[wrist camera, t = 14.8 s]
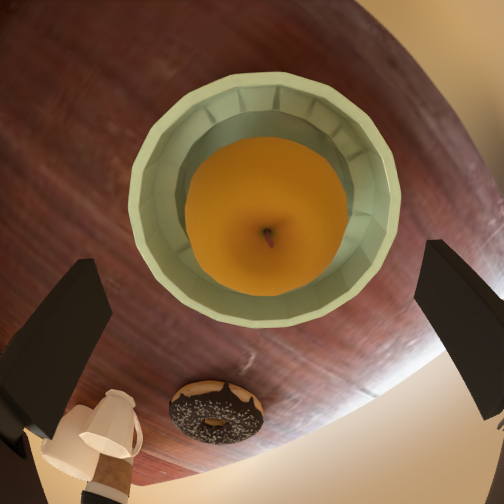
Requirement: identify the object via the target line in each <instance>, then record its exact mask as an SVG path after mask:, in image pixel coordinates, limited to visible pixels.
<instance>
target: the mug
mask: <svg viewBox="0 0 504 504" xmlns="http://www.w3.org/2000/svg"><path fill="white" fill-rule="evenodd" d="M92 412H93V410H92V409H91V408H89V407H87V406H84V405H76V406H75V407H74V408H73V409H72V410H70V411H69V412H68V413H67V414H66V415H65V416H64V417H63V418H61V420H60V422H59V425H58V427H57V429H56V432H55V434H54V437H53V439H52V440H49V439H46V438H44V439H43V442H42V445H41V451H42V457H43V458H44V460H46V461H47V462H48V463H49V464H50V465H52V466H53V467H55V468H57V469H58V470H60V471H62V472H64V473H66V474H68V475H70V476H72V477H75V478H77V479H80V480H84V481H91V480H92V479H93V476H94V473H95V470H96V467H97V463H98V460H99V456H100V452H99V451H97V450H95V449H93V448H92V447H90V446H88V445H86V444H85V442H84V441H83V440H82V438H81V437H80V436H79V433H80V431H81V430H82V428H83V427H84V425H85V423H86V422H87V420H88V419H89V417H90V415H91V414H92Z"/></svg>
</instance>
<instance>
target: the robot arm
mask: <svg viewBox="0 0 504 504" xmlns="http://www.w3.org/2000/svg"><path fill="white" fill-rule="evenodd" d="M414 299H415V300H416V302H417V303H418V305H419V306H420V308H421V310H422V311H423V313H424V314H425V316H426V317H427V319H428V320H429V322H430V324H431V325H432V327H433V328H434V330H435V332H436V333H437V335H438V337H439V338H440V340H441V341H442V343H443V345H444V347H445V348H446V350H447V352H448V353H449V355H450V357H451V359H452V360H453V362H454V364H455V366H456V367H457V369H458V371H459V373H460V374H461V376H462V378H463V380H464V382H465V384H466V386H467V388H468V389H469V391H470V393H471V395H472V397H473V399H474V401H475V403H476V405H477V407H478V409H479V411H480V413H481V415H482V417H483V419H484V420H487V419H489V418H491V417H494V416H496V415H498V414H500V413H501V412H502V411H503V409H504V301H503V300H502V299H500V298H499V297H498V295H497V294H496V293H495V292H494V291H493V290H492V289H491V288H490V287H489V286H488V285H487V284H486V282H485V281H484V280H483V279H482V278H481V277H480V276H479V275H478V274H477V273H476V272H475V271H474V270H473V269H472V268H471V267H470V266H469V265H468V264H467V263H466V262H465V261H464V260H463V259H462V258H461V257H460V256H459V255H458V254H457V253H456V252H455V251H454V250H452V249H451V248H450V247H449V246H448V245H447V244H446V243H445V242H444V241H443V240H442V239H441V240H427V242H426V247H425V252H424V257H423V261H422V266H421V270H420V275H419V279H418V283H417V287H416V291H415V295H414ZM112 314H113V313H112V310H111V308H110V305H109V302H108V300H107V297H106V294H105V292H104V289H103V286H102V283H101V280H100V277H99V274H98V271H97V268H96V265H95V262H94V259H79V260H78V261H77V262H76V263H75V264H74V265H73V266H72V267H71V268H70V270H69V271H68V272H67V273H66V274H65V275H64V276H63V278H62V279H61V280H60V281H59V282H58V283H57V285H56V286H55V287H54V288H53V289H52V291H51V292H50V293H49V294H48V295H47V297H46V298H45V299H44V300H43V302H42V303H41V304H40V305H39V307H38V308H37V309H36V310H35V312H34V313H33V314H32V315H31V317H30V318H29V319H28V321H27V322H26V323H25V325H24V326H23V327H22V328H21V329H20V330H19V331H17V332H16V333H15V334H14V336H13V337H12V338H11V340H10V341H9V343H8V345H6V347H5V348H4V350H3V353H1V354H0V504H48V502H47V499H46V496H45V493H44V490H43V488H42V485H41V482H40V479H39V476H38V472H37V469H36V466H35V463H34V459H33V455H32V452H31V448H30V444H29V440H28V437H27V435H26V433H25V432H24V431H23V429H24V427H25V425H27V427H28V428H29V429H30V430H31V431H32V432H33V433H34V434H35V435H38V436H40V437H43V438H46V439H49V440H52V439H53V437H54V434H55V432H56V429H57V427H58V425H59V422H60V420H61V418H62V415H63V413H64V411H65V408H66V406H67V404H68V402H69V399H70V397H71V395H72V393H73V391H74V389H75V386H76V384H77V382H78V380H79V378H80V376H81V374H82V372H83V370H84V368H85V366H86V364H87V362H88V360H89V358H90V356H91V354H92V352H93V350H94V348H95V346H96V344H97V342H98V340H99V338H100V336H101V334H102V332H103V330H104V329H105V327H106V325H107V323H108V321H109V319H110V318H111V316H112ZM503 425H504V418H503V420H502V421H501V422H500V423H499V424H498V427H497V429H498V430H499V429H500V428H501V427H502V426H503ZM503 431H504V429H503ZM485 504H504V440H503V444H502V449H501V453H500V457H499V461H498V465H497V468H496V472H495V475H494V479H493V482H492V485H491V488H490V491H489V494H488V497H487V500H486V503H485Z"/></svg>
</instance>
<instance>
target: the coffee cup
mask: <svg viewBox="0 0 504 504" xmlns="http://www.w3.org/2000/svg"><path fill="white" fill-rule="evenodd" d="M133 451H134V448H133V447H132V452H133ZM133 460H134V457H127V458H122V459H120V458H116V457H112V456H109V455H105V454H102V453H100V456H99V460H98V463H97V467H96V470H95V473H94V476H93V479H92V480H91V481H87V486H86V488H85V491H84V490H83V491H82V493H81V495H82V497H81V504H127V501H128V498H129V493H130V484H131V476H132V468H133Z"/></svg>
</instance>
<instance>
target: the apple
mask: <svg viewBox="0 0 504 504" xmlns="http://www.w3.org/2000/svg"><path fill="white" fill-rule="evenodd" d="M185 222H186V231H187V234H188V237H189V240H190V243H191V246H192V249H193V252H194V255H195V258H196V260H197V261H198V263H199V265H200V266H201V268H202V270H204V271H205V272H206V273H207V274H209V275H210V276H211V277H212V278H213V279H215V280H216V281H217V282H218V283H220V284H221V285H224V286H226V287H228V288H231V289H233V290H236V291H238V292H241V293H245V294H249V295H253V296H277V295H280V294H283V293H285V292H288V291H291V290H293V289H296V288H299V287H302V286H304V285H307V284H308V283H309V282H311V281H312V280H314V279H315V278H316V277H318V276H319V275H321V274H322V273H323V272H324V270H325V269H326V268H327V267H328V266H329V265H330V264H331V262H332V260H333V258H334V256H335V255H336V253H337V251H338V249H339V247H340V245H341V242H342V239H343V236H344V233H345V229H346V226H347V223H348V210H347V196H346V193H345V191H344V189H343V186H342V184H341V182H340V180H339V178H338V176H337V173H336V172H335V171H334V169H333V168H332V167H331V165H330V164H329V163H328V161H327V160H326V159H325V158H324V157H322V156H321V155H319V154H318V153H316V152H314V151H313V150H311V149H310V148H308V147H306V146H304V145H302V144H299V143H297V142H294V141H291V140H287V139H283V138H279V137H253V138H245V139H240V140H238V141H236V142H233V143H231V144H228V145H226V146H224V147H222V148H219V149H218V150H217V151H215V152H214V153H213V154H212V155H211V156H210V157H208V158H207V159H206V160H205V161H204V162H203V163H202V164H201V165H200V166H199V167H198V169H197V170H196V172H195V173H194V175H193V176H192V179H191V183H190V187H189V191H188V195H187V199H186V204H185Z"/></svg>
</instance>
